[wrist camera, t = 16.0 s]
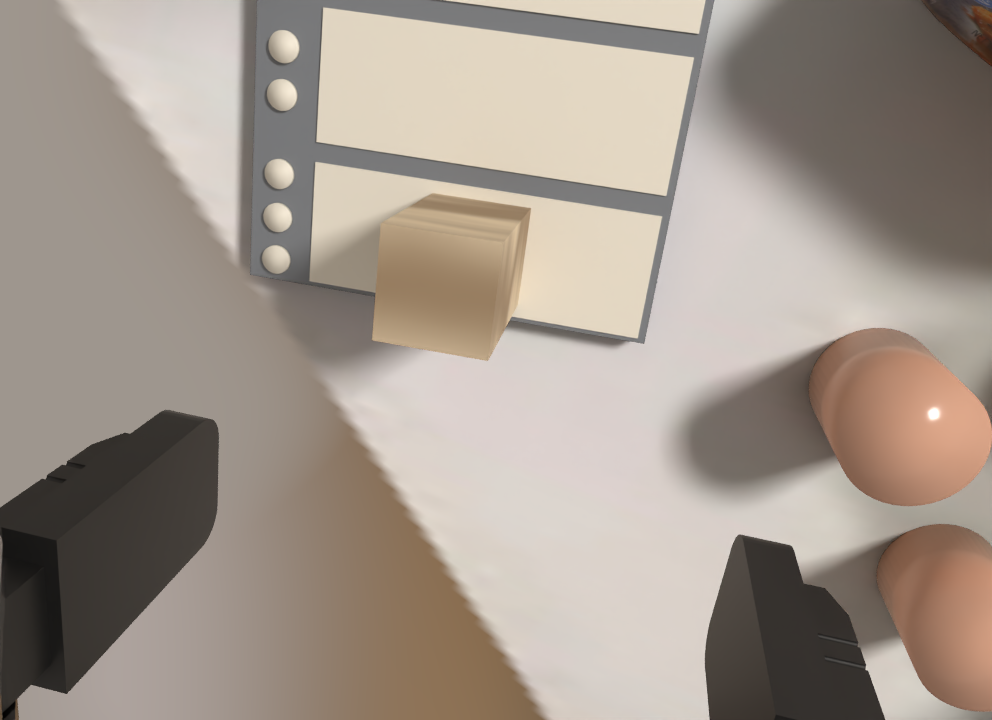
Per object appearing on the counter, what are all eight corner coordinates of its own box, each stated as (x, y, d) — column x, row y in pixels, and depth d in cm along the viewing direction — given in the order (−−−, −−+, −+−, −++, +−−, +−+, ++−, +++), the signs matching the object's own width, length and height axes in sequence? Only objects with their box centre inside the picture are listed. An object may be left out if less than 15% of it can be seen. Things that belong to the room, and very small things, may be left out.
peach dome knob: (826, 318, 33) (860, 363, 28) (955, 339, 33) (1013, 389, 28) (795, 429, 35) (821, 490, 30) (917, 451, 34) (965, 518, 29)
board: (275, -174, 31) (259, -185, 29) (737, -123, 29) (741, -132, 27) (262, 268, 37) (248, 275, 35) (643, 334, 35) (644, 345, 33)
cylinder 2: (895, 513, 35) (937, 588, 30) (1017, 536, 35) (1081, 616, 30) (862, 609, 37) (897, 695, 32) (978, 632, 37) (1032, 723, 32)
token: (432, 192, 33) (380, 223, 26) (531, 208, 32) (503, 242, 26) (423, 289, 34) (372, 340, 28) (517, 304, 34) (488, 360, 27)
